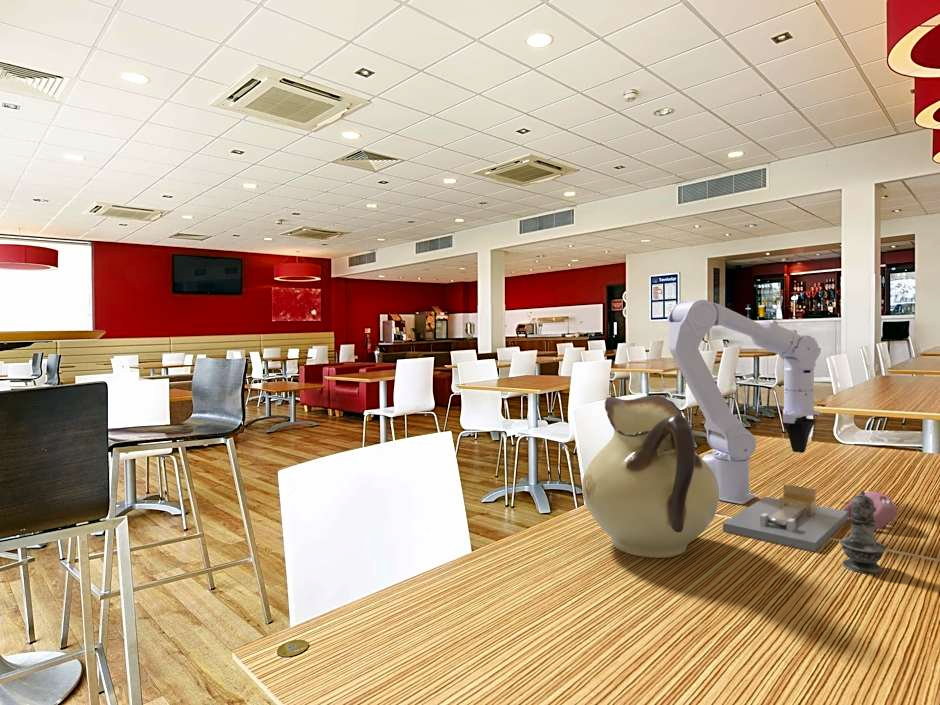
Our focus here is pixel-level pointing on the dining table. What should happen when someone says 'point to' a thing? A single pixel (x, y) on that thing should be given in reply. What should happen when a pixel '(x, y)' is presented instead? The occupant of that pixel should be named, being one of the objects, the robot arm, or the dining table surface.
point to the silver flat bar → (786, 514)
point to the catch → (799, 498)
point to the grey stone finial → (862, 538)
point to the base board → (796, 533)
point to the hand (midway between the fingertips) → (798, 451)
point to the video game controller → (878, 509)
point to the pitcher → (650, 480)
